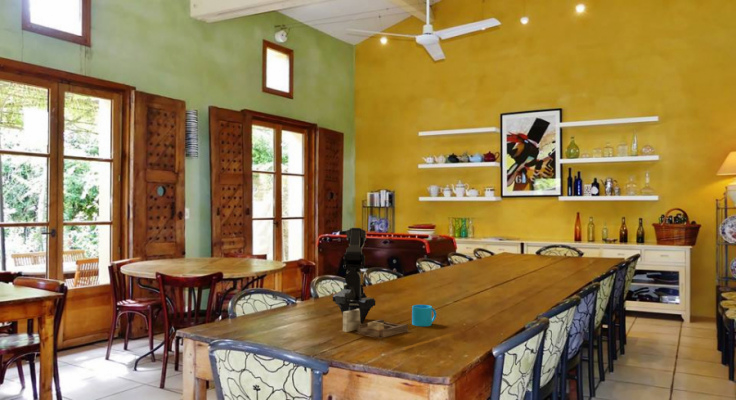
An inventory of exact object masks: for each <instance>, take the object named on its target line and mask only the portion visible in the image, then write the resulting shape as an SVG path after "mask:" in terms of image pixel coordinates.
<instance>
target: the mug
mask: <svg viewBox="0 0 736 400" xmlns="http://www.w3.org/2000/svg"><path fill="white" fill-rule="evenodd" d="M436 318H437V311H436V309H435V308H434V307H433V306H432V305H429V304H415V305H412V306H411V325H413V326H414V327H415V326H416V327H430V326H432V324H433V323H434V321H435V320H436Z"/></svg>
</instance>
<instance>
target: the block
mask: <svg viewBox="0 0 736 400" xmlns="http://www.w3.org/2000/svg"><path fill="white" fill-rule="evenodd" d="M359 324H361V322H360V310H359V309H354V310H349V311H344V312H343V315H342V332H345V333H348V332H352V331H358V325H359Z"/></svg>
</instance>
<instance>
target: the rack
mask: <svg viewBox="0 0 736 400" xmlns="http://www.w3.org/2000/svg"><path fill="white" fill-rule="evenodd" d="M373 321H374V322H380V323H384V330H381V335H380V332H378V331H374V330H369V329H365V327H368V323H369V322H370V321H368V322H364V323H363V324H359V325H358V329H357V330H356V331H355V332H354V334H359V335H363V336H367V337H371V338H376V339H384V338H388V337H392V336H395V335H399V334H402V333H406V332H410V330H409V329H408V324H406V323H404V324H396V323H391V322H388V321H384V319H376V320H373ZM373 321H371V322H373Z"/></svg>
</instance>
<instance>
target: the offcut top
mask: <svg viewBox="0 0 736 400" xmlns="http://www.w3.org/2000/svg"><path fill="white" fill-rule="evenodd" d="M374 321H375V320H373V322H372V321H368V322H369V323H368V322H367V323H368V328H369V329H375V330H380V329H383V328H384V323H380V322H374Z"/></svg>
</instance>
